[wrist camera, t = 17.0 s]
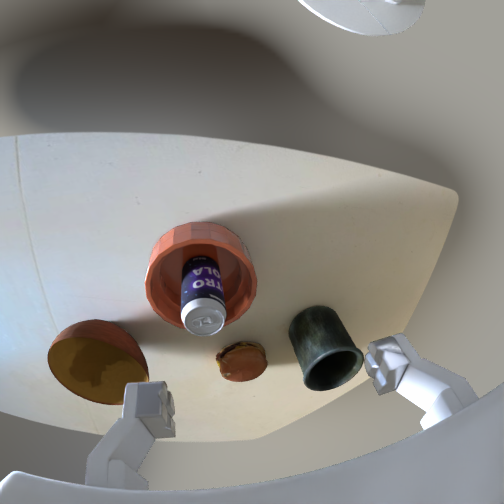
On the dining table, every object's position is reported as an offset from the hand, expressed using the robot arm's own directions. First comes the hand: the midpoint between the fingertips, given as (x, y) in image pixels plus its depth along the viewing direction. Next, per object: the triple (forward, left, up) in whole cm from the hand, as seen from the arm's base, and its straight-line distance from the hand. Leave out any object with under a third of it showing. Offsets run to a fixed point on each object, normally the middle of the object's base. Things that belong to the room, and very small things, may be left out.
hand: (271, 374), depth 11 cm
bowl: (+35, +2, -33) cm, 49 cm away
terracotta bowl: (+13, +8, -33) cm, 36 cm away
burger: (+25, +26, -33) cm, 49 cm away
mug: (+13, +34, -33) cm, 49 cm away
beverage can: (+13, +8, -33) cm, 36 cm away
